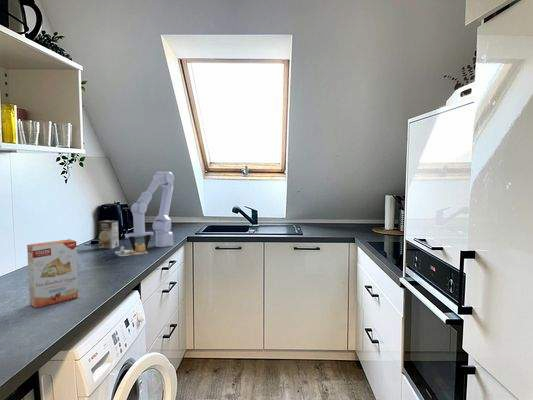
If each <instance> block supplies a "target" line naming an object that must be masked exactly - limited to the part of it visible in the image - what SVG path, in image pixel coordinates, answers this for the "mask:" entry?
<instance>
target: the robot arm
mask: <svg viewBox="0 0 533 400" xmlns="http://www.w3.org/2000/svg"><path fill="white" fill-rule="evenodd" d="M152 178H153V180H152V181H151V182H150V185H149V186H148V188H147V189H146V191H143V192H141V193H140V196H139V197H138V199H137V200H136V202H133V204H132V205H131V208H130V212H131V213H132V217H133V218H132V219H133V220H132V221H133V232H131V233H125V234H124V238H125V239H129V242H130V244H131V247H132V250H133V251H135V244H136V239H135V238H137V237H138V238H141V237H143V238H144V243H145V244H146V250H148V246H149V242H150V241H151V238H152V236H154V233H155V247H157V248H166V247H174V234H173V231H171V229H172V219H171V217H169V214H170V209H171V208H170V207H171V203H172V196H173V192H174V180H175V176H174V174H173V173H172V172H171V171H156V172H155V173H154V175H153V176H152ZM159 186H161V188H162V194H161V200H160V206H159V212H158V214H157V215H156V217H154V221H153V223H152V226H151V227H152V229H153V230H154V231H146V224H145V223H146V222H145V221H146V220H145V214H146V212H147V211H148V210H147V209H148V205H149V203H150V202H151V200H153V194H155V193H154V192H155V191H156V190H157V188H159Z"/></svg>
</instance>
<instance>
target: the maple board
mask: <svg viewBox="0 0 533 400" xmlns="http://www.w3.org/2000/svg"><path fill="white" fill-rule="evenodd" d="M125 251H127V252H130V253H129V254H125V255H117V257H126V256H135V255H143V254H144V255H145V254H149V252H148V251H147V250H146V251H145V252H134V251H133V249H125ZM117 252H121V250H118V251H117V250H115V251H114V254H115V253H117Z"/></svg>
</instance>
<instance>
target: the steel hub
mask: <svg viewBox="0 0 533 400" xmlns="http://www.w3.org/2000/svg"><path fill="white" fill-rule="evenodd" d="M119 249H120V250H119V251H121V253H125V250H126V249H125V246H124V245H121V246H120V248H119Z"/></svg>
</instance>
